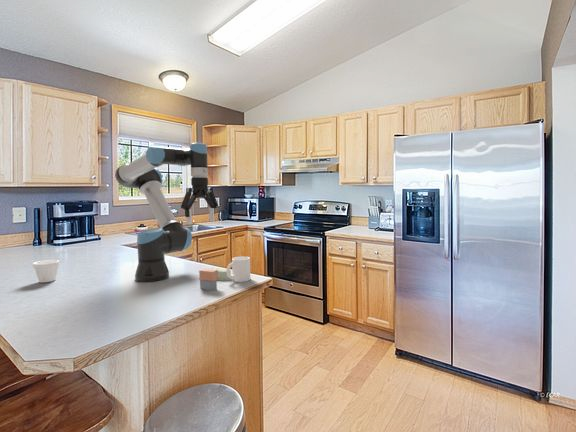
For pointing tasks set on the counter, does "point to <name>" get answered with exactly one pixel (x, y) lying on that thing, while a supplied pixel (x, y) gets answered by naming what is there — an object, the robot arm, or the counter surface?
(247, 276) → the mug
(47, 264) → the cup
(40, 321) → the counter surface
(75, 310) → the counter surface
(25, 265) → the counter surface
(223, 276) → the sage brick
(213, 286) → the slate brick
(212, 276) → the terracotta brick
